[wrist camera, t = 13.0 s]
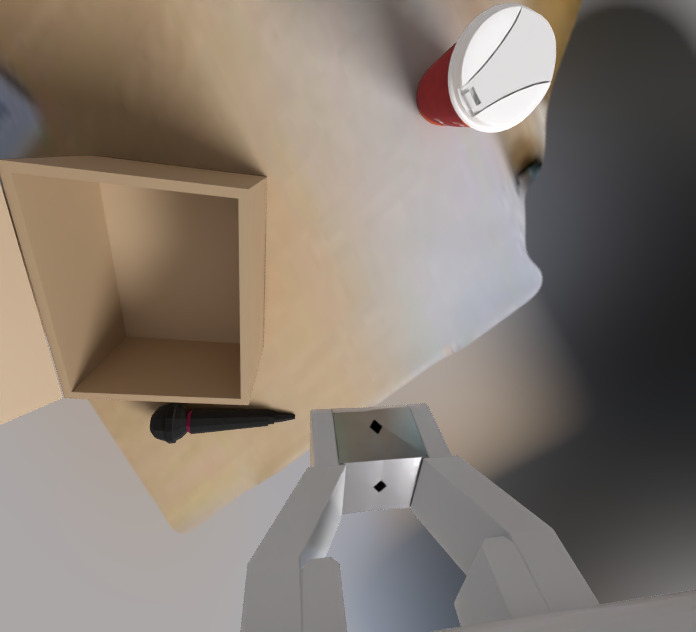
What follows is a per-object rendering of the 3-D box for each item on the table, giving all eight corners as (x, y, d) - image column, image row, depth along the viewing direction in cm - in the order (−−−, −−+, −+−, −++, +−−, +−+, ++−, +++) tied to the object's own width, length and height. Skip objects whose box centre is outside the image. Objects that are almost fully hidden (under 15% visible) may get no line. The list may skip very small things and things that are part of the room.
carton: (123, 338, 45) (64, 398, 35) (90, 155, 36) (-5, 159, 25) (263, 346, 48) (248, 405, 37) (267, 176, 38) (248, 189, 28)
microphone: (293, 392, 56) (156, 396, 51) (297, 407, 50) (143, 413, 45) (292, 424, 57) (157, 431, 52) (295, 442, 51) (144, 452, 46)
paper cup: (430, 151, 39) (485, 155, 26) (392, 86, 36) (434, 54, 23) (491, 102, 37) (581, 80, 25) (457, 29, 34) (540, -39, 21)
